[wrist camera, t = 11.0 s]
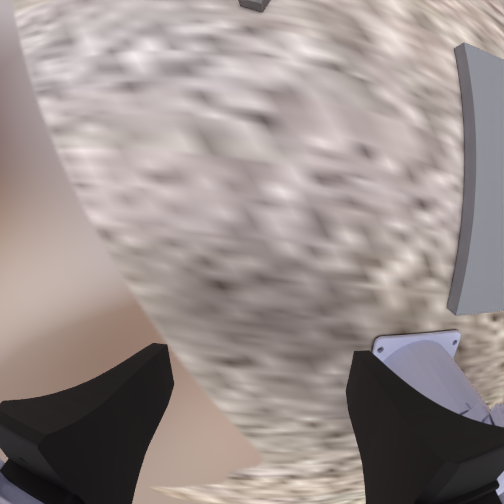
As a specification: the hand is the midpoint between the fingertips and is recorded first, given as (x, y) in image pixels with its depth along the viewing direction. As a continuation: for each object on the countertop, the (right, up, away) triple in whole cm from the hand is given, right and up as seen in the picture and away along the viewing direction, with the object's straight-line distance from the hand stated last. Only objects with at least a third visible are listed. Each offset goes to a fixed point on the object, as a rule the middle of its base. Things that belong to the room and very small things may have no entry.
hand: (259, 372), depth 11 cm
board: (+25, +10, +5) cm, 27 cm away
